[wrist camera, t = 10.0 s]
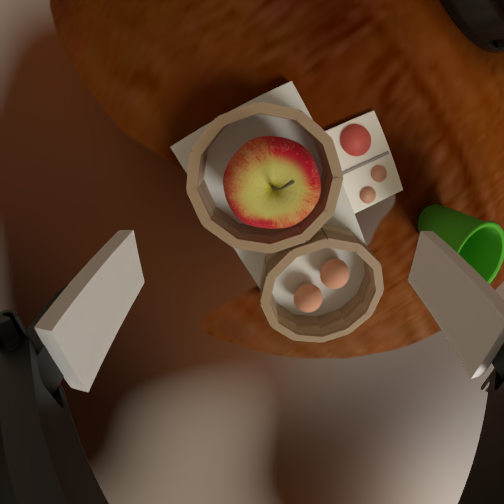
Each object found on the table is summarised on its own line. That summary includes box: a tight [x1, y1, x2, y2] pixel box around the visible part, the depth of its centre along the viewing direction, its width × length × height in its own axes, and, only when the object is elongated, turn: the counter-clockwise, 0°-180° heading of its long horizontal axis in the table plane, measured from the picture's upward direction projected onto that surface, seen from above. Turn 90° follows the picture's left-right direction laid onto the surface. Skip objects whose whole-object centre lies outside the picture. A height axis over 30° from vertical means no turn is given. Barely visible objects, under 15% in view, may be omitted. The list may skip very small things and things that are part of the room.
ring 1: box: [186, 102, 343, 253], centre depth 27 cm, size 14×14×4 cm
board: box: [170, 81, 382, 317], centre depth 32 cm, size 29×14×1 cm, turn 29°
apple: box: [223, 136, 321, 229], centre depth 24 cm, size 8×8×10 cm
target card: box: [325, 111, 403, 214], centre depth 28 cm, size 10×7×1 cm
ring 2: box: [260, 224, 384, 343], centre depth 32 cm, size 14×14×4 cm
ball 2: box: [320, 259, 349, 289], centre depth 32 cm, size 4×4×4 cm
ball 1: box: [294, 284, 323, 313], centre depth 33 cm, size 4×4×4 cm
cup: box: [418, 204, 504, 284], centre depth 27 cm, size 9×9×11 cm
